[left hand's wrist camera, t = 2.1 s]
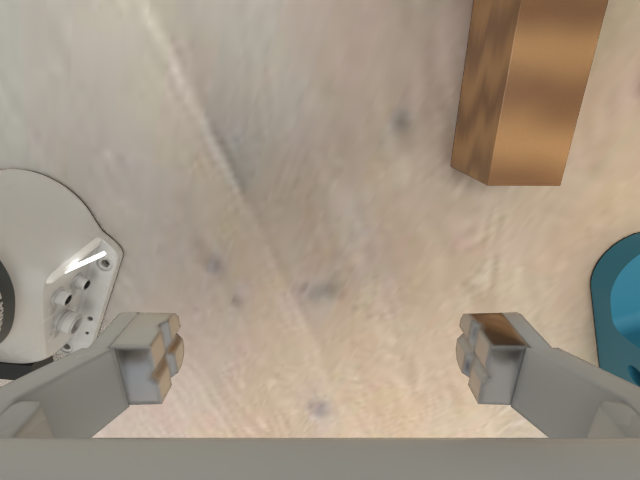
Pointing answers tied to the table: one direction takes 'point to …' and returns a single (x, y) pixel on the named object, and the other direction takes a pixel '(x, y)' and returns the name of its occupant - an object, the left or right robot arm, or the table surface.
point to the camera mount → (618, 309)
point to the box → (524, 88)
